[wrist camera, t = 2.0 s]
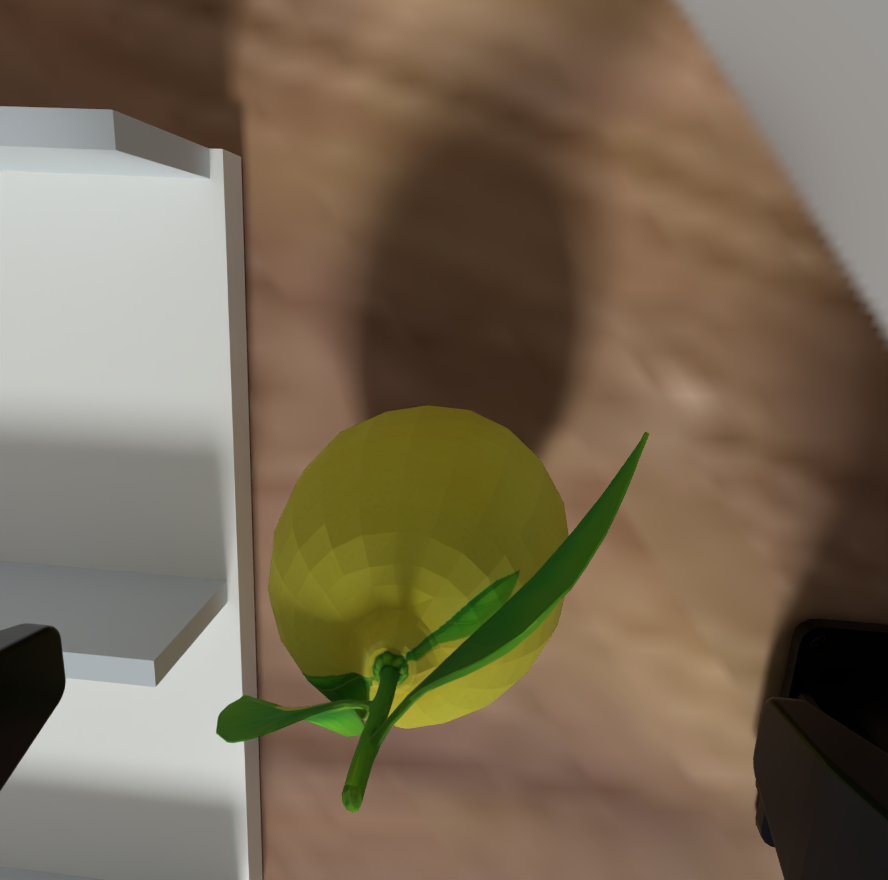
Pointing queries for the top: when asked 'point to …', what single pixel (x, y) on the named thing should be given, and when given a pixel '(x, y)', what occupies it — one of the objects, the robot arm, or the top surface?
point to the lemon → (418, 576)
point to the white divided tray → (127, 497)
